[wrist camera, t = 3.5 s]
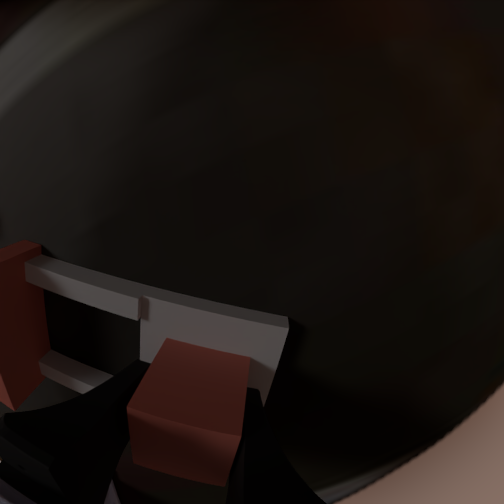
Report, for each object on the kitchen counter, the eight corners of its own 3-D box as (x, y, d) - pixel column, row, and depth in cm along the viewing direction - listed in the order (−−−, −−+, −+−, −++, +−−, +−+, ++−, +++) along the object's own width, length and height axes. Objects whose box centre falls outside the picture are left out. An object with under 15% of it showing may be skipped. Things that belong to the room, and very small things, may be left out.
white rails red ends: (251, 429, 14) (244, 510, 9) (38, 359, 14) (-9, 407, 9) (290, 306, 12) (302, 392, 7) (24, 239, 12) (-50, 270, 7)
